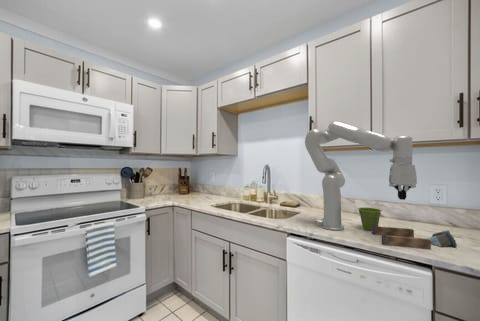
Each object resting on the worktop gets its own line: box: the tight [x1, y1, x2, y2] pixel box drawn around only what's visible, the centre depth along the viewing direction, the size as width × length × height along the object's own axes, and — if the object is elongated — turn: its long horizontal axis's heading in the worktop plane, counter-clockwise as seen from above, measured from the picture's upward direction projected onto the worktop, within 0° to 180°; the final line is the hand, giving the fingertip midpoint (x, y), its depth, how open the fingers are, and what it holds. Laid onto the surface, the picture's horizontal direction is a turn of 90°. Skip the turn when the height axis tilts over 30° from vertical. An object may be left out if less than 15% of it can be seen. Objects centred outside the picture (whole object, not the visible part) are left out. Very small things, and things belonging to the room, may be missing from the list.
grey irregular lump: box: [426, 230, 457, 248], centre depth 98 cm, size 10×7×12 cm
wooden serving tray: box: [371, 224, 432, 250], centre depth 103 cm, size 18×17×5 cm
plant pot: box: [357, 206, 383, 232], centre depth 122 cm, size 12×12×11 cm
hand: (401, 199), depth 103 cm, fingers closed
